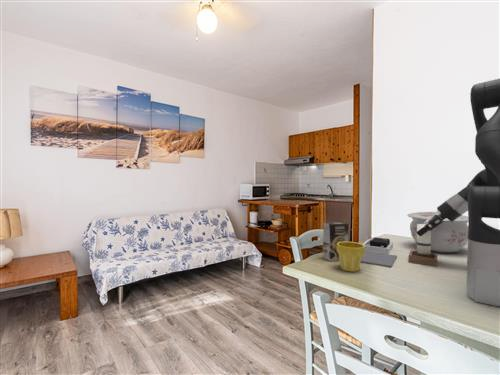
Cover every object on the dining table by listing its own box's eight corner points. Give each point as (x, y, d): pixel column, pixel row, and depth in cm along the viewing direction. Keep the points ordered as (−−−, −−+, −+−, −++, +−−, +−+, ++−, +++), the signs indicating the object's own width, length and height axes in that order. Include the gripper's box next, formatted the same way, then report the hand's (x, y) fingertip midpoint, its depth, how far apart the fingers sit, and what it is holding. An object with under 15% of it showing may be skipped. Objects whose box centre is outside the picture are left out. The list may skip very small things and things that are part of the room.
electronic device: (369, 250, 132) (369, 241, 132) (374, 246, 141) (374, 237, 140) (386, 253, 128) (386, 243, 127) (389, 248, 136) (389, 239, 136)
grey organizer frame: (388, 254, 126) (388, 248, 125) (361, 250, 132) (361, 245, 132) (392, 247, 139) (393, 242, 138) (368, 243, 146) (368, 239, 145)
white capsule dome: (430, 255, 110) (431, 226, 110) (415, 253, 113) (416, 225, 113) (431, 252, 114) (431, 224, 114) (416, 250, 117) (417, 223, 117)
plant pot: (369, 269, 104) (369, 244, 104) (356, 275, 97) (356, 249, 97) (344, 263, 112) (345, 240, 112) (331, 268, 105) (331, 243, 105)
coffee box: (330, 261, 114) (330, 224, 113) (322, 257, 120) (322, 222, 119) (348, 260, 116) (349, 223, 116) (340, 256, 122) (340, 221, 122)
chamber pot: (446, 243, 148) (446, 205, 147) (489, 257, 120) (490, 211, 119) (395, 242, 148) (395, 205, 147) (426, 257, 121) (427, 211, 120)
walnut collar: (437, 266, 107) (437, 259, 107) (408, 262, 113) (408, 255, 113) (437, 260, 115) (437, 253, 115) (410, 256, 121) (410, 250, 121)
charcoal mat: (391, 267, 106) (391, 266, 106) (349, 260, 115) (349, 259, 115) (396, 256, 121) (396, 255, 121) (359, 251, 130) (359, 250, 130)
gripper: (446, 199, 115) (412, 224, 122) (446, 201, 103) (410, 228, 110) (461, 212, 112) (426, 237, 119) (463, 216, 100) (425, 243, 107)
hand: (418, 233), depth 115 cm, fingers closed on white capsule dome, 5 cm apart
